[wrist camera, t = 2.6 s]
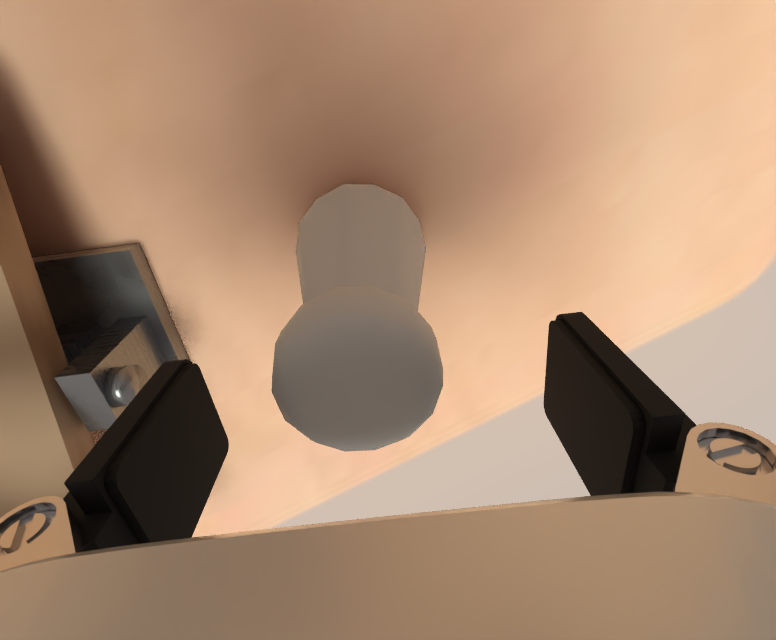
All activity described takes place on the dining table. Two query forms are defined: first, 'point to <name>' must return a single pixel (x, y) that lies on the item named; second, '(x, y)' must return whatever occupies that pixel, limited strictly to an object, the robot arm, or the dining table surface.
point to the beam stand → (107, 327)
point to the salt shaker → (358, 325)
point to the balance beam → (31, 379)
